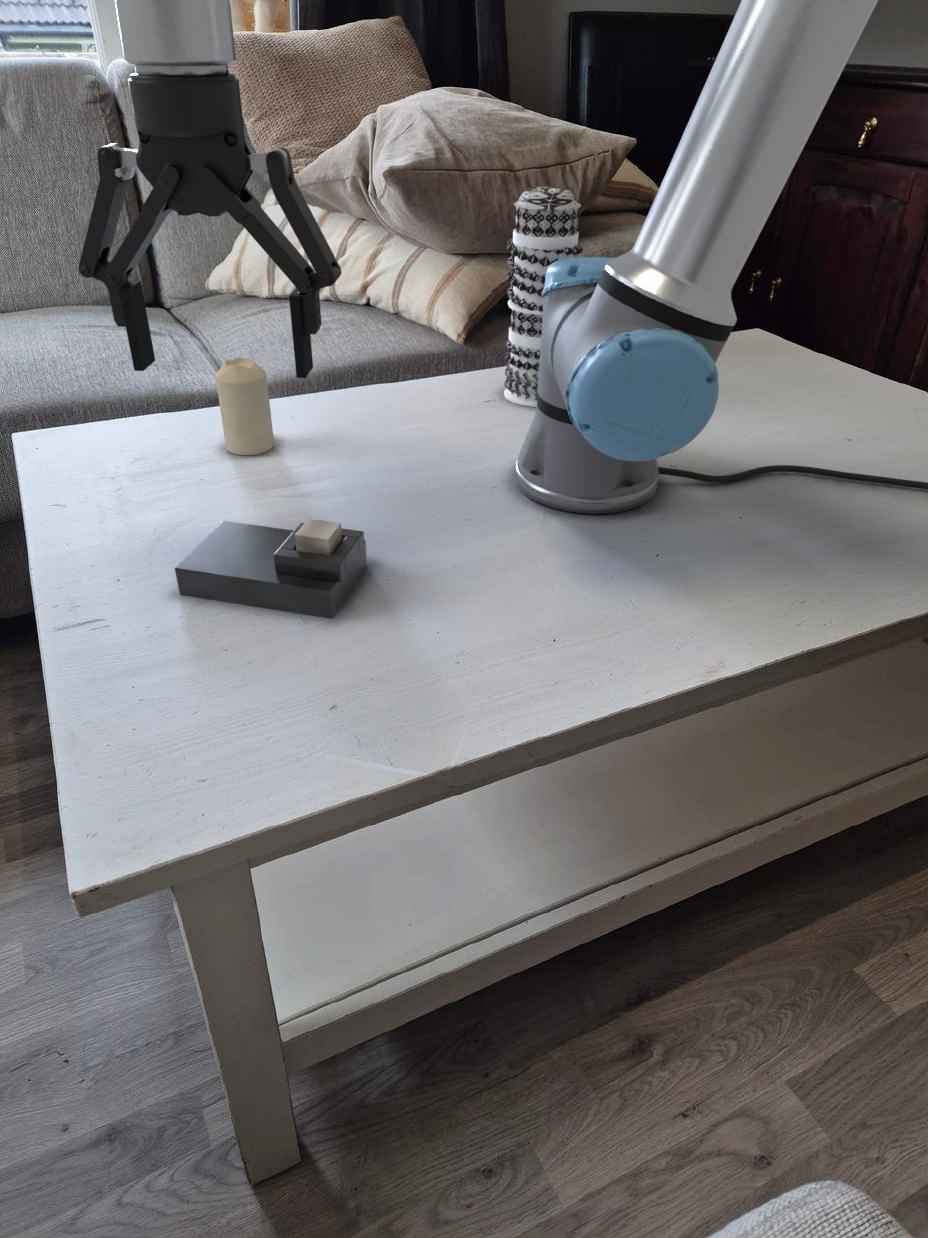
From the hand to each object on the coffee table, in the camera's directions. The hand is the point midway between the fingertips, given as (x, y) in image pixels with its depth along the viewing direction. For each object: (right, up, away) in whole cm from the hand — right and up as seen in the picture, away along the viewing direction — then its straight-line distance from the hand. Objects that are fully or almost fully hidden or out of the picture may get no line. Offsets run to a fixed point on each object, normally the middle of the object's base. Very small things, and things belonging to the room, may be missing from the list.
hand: (224, 369), depth 74 cm
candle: (-5, -1, +29) cm, 30 cm away
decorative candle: (+30, +9, +45) cm, 54 cm away
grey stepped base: (+3, -17, +5) cm, 18 cm away
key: (+8, -15, +2) cm, 17 cm away
